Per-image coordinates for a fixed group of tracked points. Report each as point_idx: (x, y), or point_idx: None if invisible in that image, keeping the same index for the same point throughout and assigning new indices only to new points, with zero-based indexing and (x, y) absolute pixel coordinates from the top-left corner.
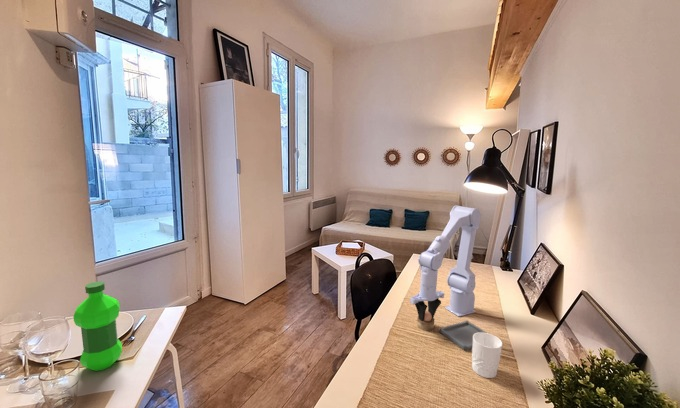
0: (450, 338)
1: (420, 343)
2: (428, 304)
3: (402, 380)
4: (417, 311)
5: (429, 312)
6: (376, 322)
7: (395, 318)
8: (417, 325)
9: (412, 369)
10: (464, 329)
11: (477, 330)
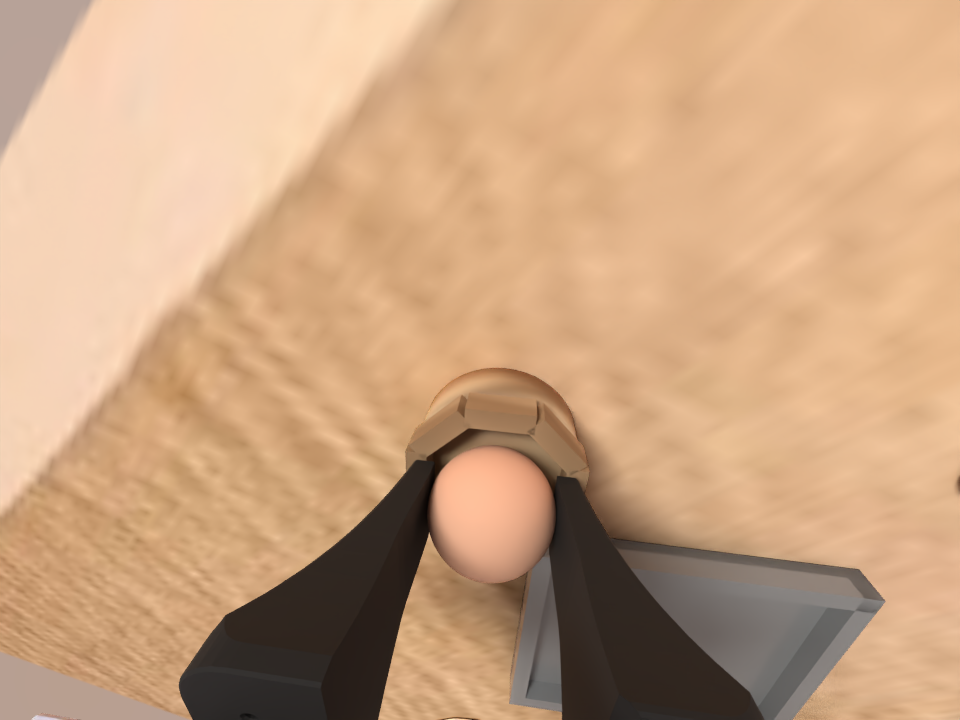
0: (521, 618)
1: (312, 540)
2: (583, 599)
3: (98, 633)
4: (370, 512)
5: (518, 574)
6: (45, 144)
7: (296, 174)
8: (434, 399)
9: (165, 622)
10: (729, 610)
11: (796, 655)
